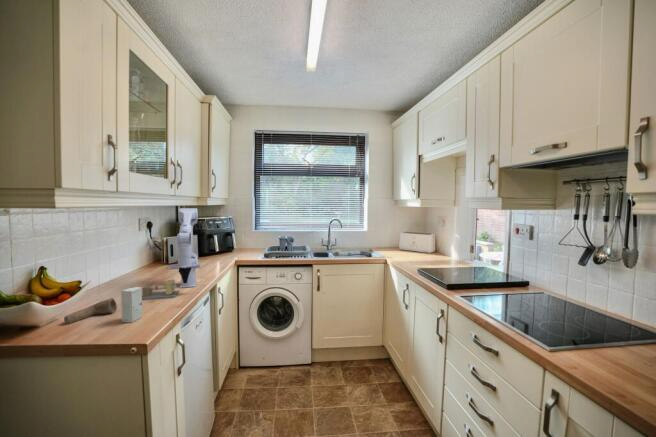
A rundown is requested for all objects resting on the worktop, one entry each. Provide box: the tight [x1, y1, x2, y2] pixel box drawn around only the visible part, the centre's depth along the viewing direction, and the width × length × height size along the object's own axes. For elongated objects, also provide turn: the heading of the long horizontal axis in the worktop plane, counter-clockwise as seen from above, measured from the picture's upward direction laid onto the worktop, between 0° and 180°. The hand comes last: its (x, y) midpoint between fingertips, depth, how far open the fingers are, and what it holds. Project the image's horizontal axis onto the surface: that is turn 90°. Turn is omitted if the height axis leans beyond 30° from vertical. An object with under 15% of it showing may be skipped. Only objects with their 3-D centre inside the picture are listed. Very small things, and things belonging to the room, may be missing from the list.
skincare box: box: [120, 286, 143, 323], centre depth 113 cm, size 6×4×12 cm
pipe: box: [63, 297, 118, 325], centre depth 116 cm, size 6×17×10 cm
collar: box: [165, 278, 176, 295], centre depth 145 cm, size 2×6×6 cm, turn 15°
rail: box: [142, 284, 180, 301], centre depth 143 cm, size 15×10×5 cm, turn 105°
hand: (185, 282), depth 146 cm, fingers closed
